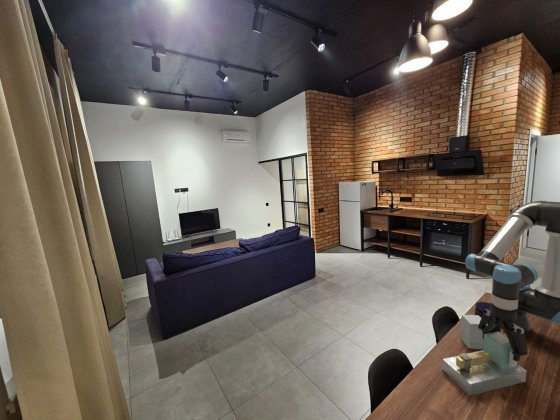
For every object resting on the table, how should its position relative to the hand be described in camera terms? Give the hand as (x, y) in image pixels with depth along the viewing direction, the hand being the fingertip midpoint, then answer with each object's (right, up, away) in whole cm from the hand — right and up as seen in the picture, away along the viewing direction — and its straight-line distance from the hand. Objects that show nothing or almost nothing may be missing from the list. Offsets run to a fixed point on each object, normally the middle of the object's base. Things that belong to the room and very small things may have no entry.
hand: (499, 356), depth 95 cm
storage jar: (+13, -3, +21) cm, 25 cm away
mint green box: (0, -2, 0) cm, 2 cm away
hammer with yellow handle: (-12, -3, -2) cm, 12 cm away
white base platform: (-7, -8, 0) cm, 10 cm away
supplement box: (+3, -4, +17) cm, 17 cm away
